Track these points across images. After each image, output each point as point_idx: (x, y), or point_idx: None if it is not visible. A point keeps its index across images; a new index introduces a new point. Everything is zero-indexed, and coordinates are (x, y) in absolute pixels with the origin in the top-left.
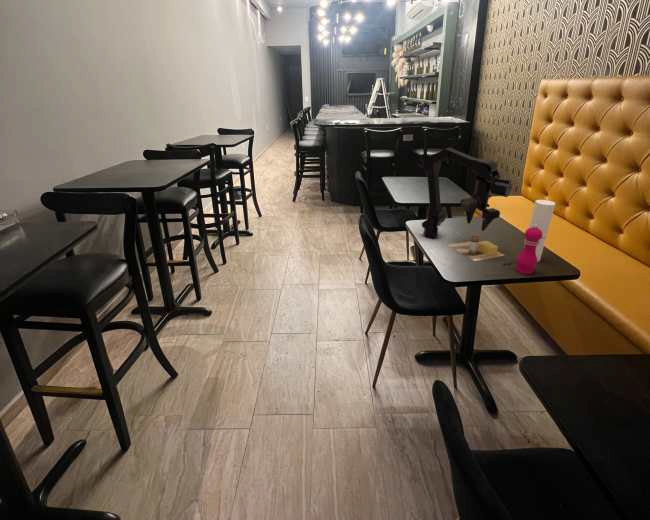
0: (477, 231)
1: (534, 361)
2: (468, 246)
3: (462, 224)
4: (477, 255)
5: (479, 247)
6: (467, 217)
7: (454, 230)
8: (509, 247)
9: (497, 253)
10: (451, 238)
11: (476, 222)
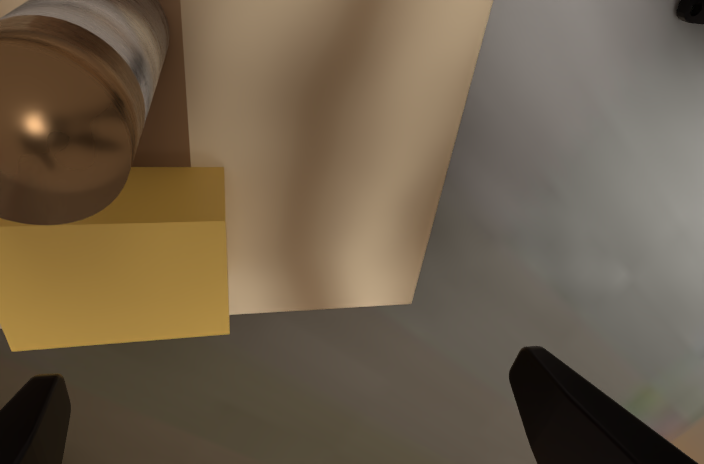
0: None
1: None
2: (331, 148)
3: (652, 375)
4: None
5: (168, 192)
6: (637, 444)
7: (652, 284)
8: (214, 431)
9: None
10: (594, 165)
11: None
